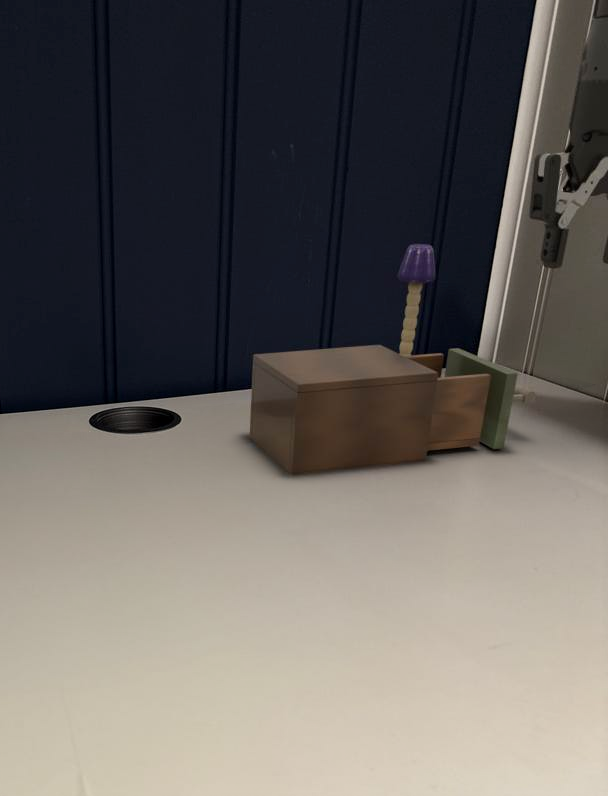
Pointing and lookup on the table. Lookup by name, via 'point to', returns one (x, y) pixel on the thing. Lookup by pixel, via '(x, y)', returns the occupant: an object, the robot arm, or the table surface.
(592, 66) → the robot arm
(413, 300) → the toy lamp
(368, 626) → the table surface
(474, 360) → the drawer
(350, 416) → the cabinet
